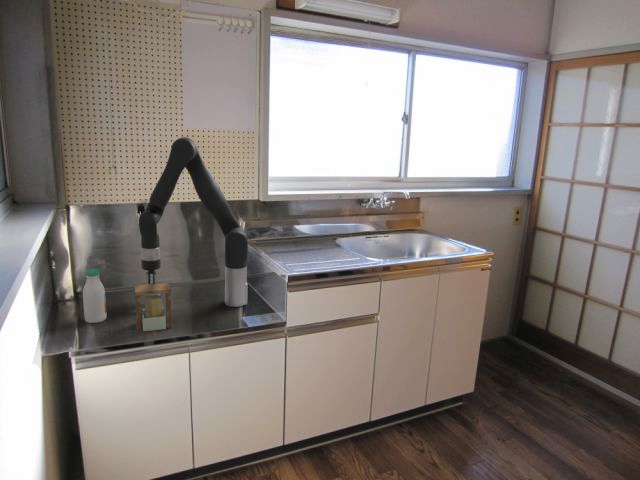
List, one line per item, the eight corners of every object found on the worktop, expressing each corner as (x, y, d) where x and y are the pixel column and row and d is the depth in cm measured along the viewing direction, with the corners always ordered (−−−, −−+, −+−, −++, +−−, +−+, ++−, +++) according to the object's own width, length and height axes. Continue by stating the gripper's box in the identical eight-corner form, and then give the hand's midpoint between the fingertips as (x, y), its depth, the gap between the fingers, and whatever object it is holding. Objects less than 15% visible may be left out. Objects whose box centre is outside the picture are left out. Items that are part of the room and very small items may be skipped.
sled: (163, 307, 192) (162, 290, 190) (165, 329, 173) (165, 311, 171) (142, 309, 189) (141, 292, 187) (142, 331, 170) (142, 313, 168)
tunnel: (170, 320, 181) (169, 283, 177) (171, 328, 175) (170, 289, 171) (136, 323, 176) (135, 285, 172) (136, 331, 170) (134, 292, 166)
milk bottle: (103, 323, 175) (100, 274, 170) (81, 323, 174) (77, 273, 168) (109, 315, 182) (106, 267, 177) (88, 315, 181) (84, 267, 176)
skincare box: (144, 324, 176) (143, 295, 173) (155, 321, 179) (154, 292, 176) (153, 330, 172) (151, 300, 169) (163, 327, 175) (162, 297, 172)
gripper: (161, 261, 185) (162, 301, 190) (159, 252, 197) (160, 290, 202) (141, 262, 182) (142, 303, 187) (141, 253, 194) (142, 291, 199)
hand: (151, 296), depth 194 cm, fingers closed
